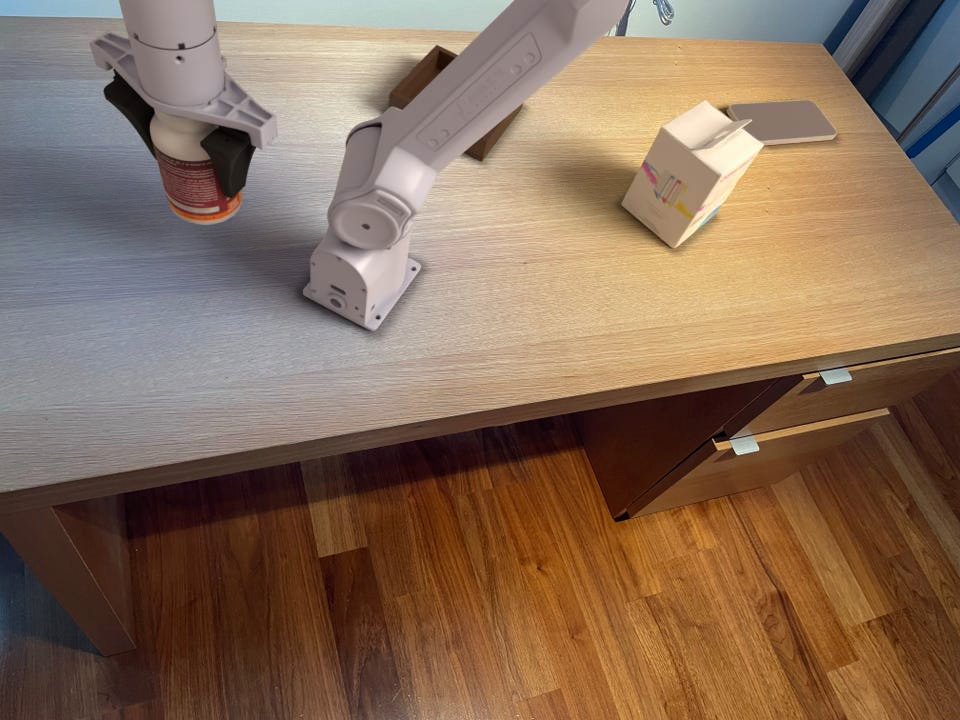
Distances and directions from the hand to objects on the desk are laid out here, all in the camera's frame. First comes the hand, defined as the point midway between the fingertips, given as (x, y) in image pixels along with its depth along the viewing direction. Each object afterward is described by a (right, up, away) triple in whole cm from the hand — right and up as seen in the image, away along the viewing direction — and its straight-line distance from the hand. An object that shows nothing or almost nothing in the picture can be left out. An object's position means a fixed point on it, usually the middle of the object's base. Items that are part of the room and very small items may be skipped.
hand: (201, 172), depth 57 cm
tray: (+21, +14, +25) cm, 36 cm away
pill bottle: (-1, -2, +3) cm, 4 cm away
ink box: (+46, +2, +23) cm, 51 cm away
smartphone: (+65, +16, +37) cm, 76 cm away
